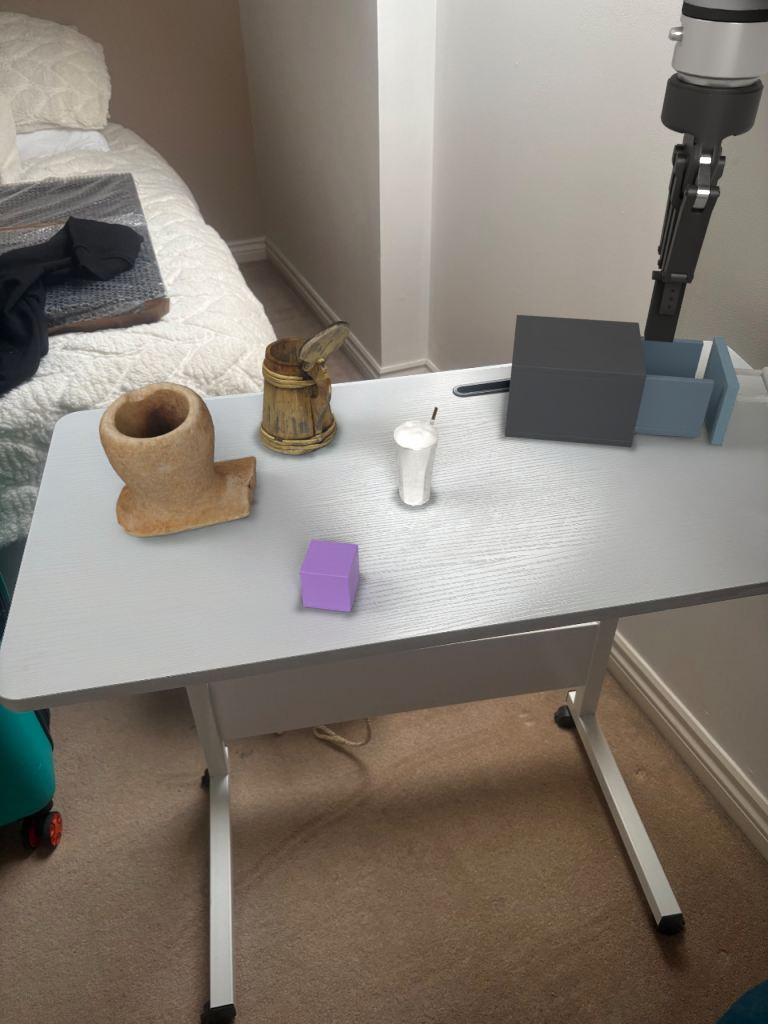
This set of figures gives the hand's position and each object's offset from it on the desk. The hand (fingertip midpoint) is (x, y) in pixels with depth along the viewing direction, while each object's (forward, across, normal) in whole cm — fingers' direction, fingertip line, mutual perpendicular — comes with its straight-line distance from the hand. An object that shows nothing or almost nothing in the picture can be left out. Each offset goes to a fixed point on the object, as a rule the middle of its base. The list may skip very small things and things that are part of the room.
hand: (658, 337), depth 82 cm
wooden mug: (+17, +1, -37) cm, 40 cm away
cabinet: (+17, -11, -7) cm, 21 cm away
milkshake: (+17, +9, -22) cm, 29 cm away
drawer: (+16, -11, +7) cm, 20 cm away
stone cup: (+17, +16, -45) cm, 51 cm away
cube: (+17, +25, -28) cm, 41 cm away
